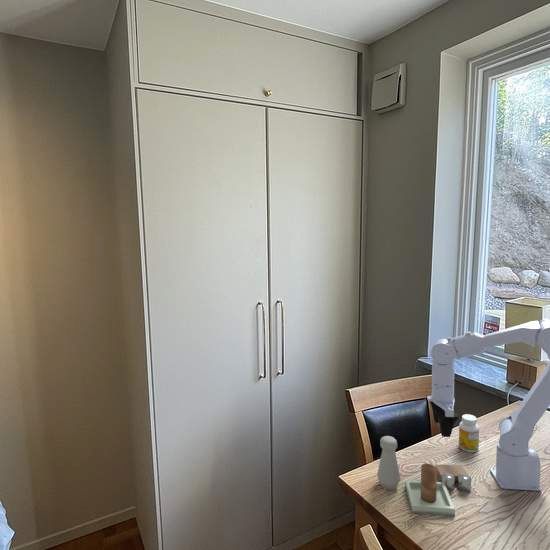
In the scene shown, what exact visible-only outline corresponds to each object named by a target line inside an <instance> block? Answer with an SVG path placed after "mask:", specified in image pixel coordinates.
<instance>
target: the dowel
mask: <svg viewBox="0 0 550 550" xmlns="http://www.w3.org/2000/svg"><path fill="white" fill-rule="evenodd" d="M437 477H438V476H437V468H436V467H435V465H433V464H430V463H423V464H421V466H420V481H421V499H422V500H423V501H425V502H427V503H434V502H436V488H437V482H438V480H437V479H438V478H437Z"/></svg>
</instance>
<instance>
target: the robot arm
mask: <svg viewBox="0 0 550 550" xmlns="http://www.w3.org/2000/svg"><path fill="white" fill-rule="evenodd" d="M516 343H523V344H526V345H528V346H531V347H533V348H535V347H536V343H537V344H538V346H539V347H540V348H541V349H542V351H543V352H544V353H545V354H546V355H547V358H548V361H549V362H548V363H547V365H546V366H545V368H544V369H543V371H542V372H541V373H540V375H539V377H538V378H537V379H536V381H535V382H534V384H533V385H532V386H531V388H530V390H529V391H528V392H527V393H526V395H525V397H524V398H523V399H522V400H521V401H522V402H520V404H519V405H518V407H517V408H516V409H515V410H512V412H511V413H510V414H509V415H508V416H506V417H504V418H502V419H501V420H500V422H499V425H498V428H499V438H498V441H497V443H496V454H495V455H496V461H495V464H496V465H495V468H494V467H490V468H489V471H490V473H491V475H492V476H493V478H494V479H495V481H496V483H497V484H498V485H499V487H500V488H501V489H505V490H506V489H507V490H522V491H536V492H537V491H539V492H541V491H542V488H541V487H540V486H541V485H540V484H541V458H540V456H539V454H538V452H537V450H536V449H534V448H531V447H529V442H530V440H531V439H532V437H533V435H534V431H535V428H536V425H537V423H538V422H539V421H540V419H541V418H542V417H543V416H544V414H545V412H546V411H547V410H548V409H549V407H550V318H544V319H541V320H540V321H538V320H533V321H529V322H526V323H521V324H518V325H515V326H510V327H508V328H504V329H500V330H497V331H494V332H490V333H486V334H481V333H478V332H476V331H475V332H471V331H465V333H464V334H461V335H459V336H458V335H457V336H454V337H451V336H447V337H446V338H439V339H437V340H436V341H435V342H434V344H433V345H432V347H431V352H430V356H431V359H432V365H431V395H428V396H426V399H427V401H428V402H429V404H430V407H431V410H432V415H433V420H434V423H438V424H439V430H440V431H439V432H440V434H441V437H442V438H450V437H451V435H452V431H453V429H454V426H455V424H456V422H457V421H458V420H459V418H460V416H459V413H458V412H455V410H454V407H455V365H454V364H455V363H454V362H455V361H454V360H460V359H465V358H468V357H474V356H477V355H482V354H484V353H485V352H486V350H487V349H488V348H492V347H493V348H494V347H499V346H505V345H509V344H516Z"/></svg>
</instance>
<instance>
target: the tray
mask: <svg viewBox="0 0 550 550" xmlns="http://www.w3.org/2000/svg"><path fill="white" fill-rule="evenodd" d="M404 482H405V484H404V485H405V490H406V494H407V498H408V502H409V506H410V508H411V513H412V514H422V515H437V516H450V517H451V516H452V517H455V516H456V508H455V506H454V503H453V500H452V498H451V495H450V493H449V491H447V488H446V486H445V483H444V482H440V481H437V488H436V502H434V503H427V502H425V501H423V500H422V499H421V480H412V479H411V480H409V479H408V480H407V479H405V481H404Z"/></svg>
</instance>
